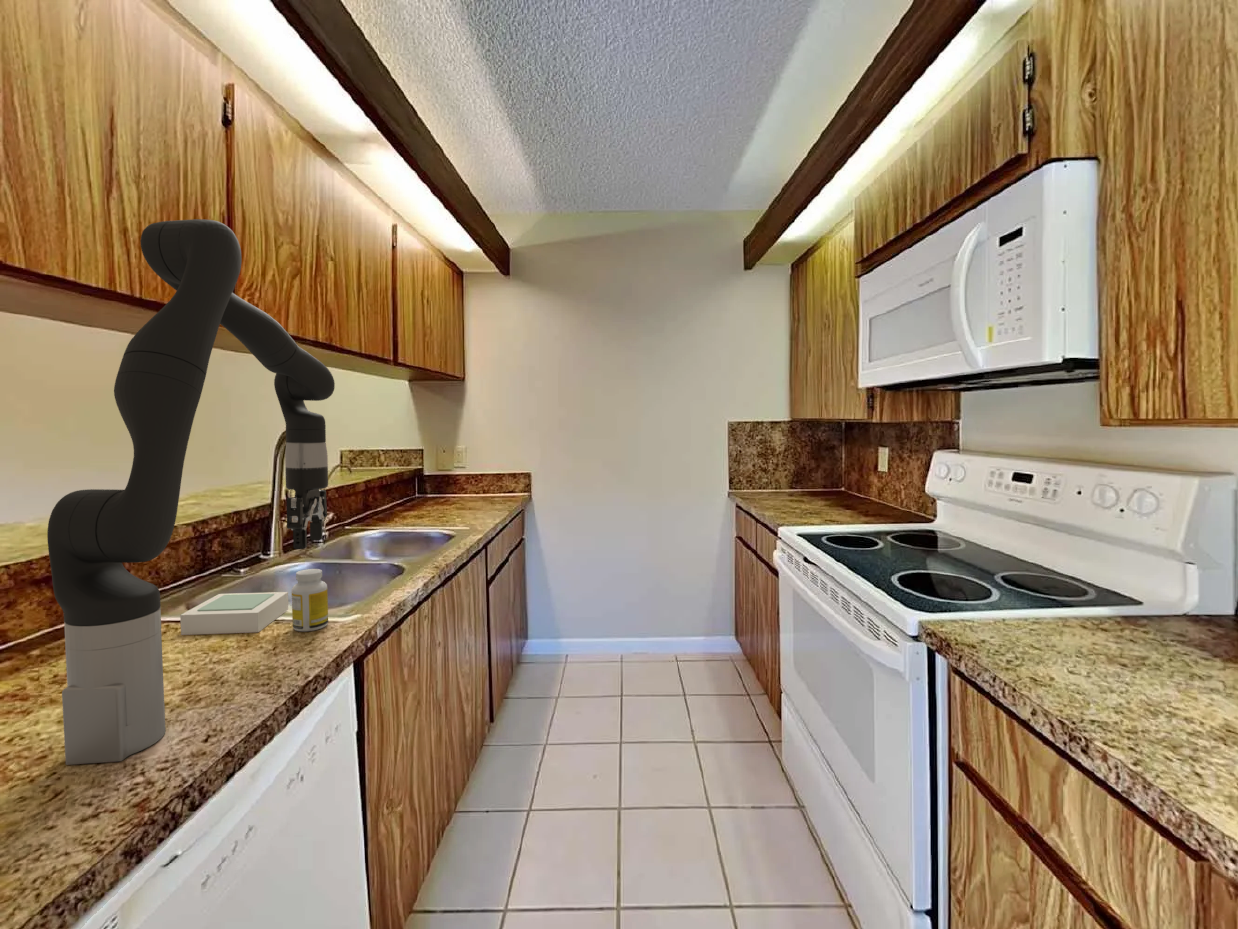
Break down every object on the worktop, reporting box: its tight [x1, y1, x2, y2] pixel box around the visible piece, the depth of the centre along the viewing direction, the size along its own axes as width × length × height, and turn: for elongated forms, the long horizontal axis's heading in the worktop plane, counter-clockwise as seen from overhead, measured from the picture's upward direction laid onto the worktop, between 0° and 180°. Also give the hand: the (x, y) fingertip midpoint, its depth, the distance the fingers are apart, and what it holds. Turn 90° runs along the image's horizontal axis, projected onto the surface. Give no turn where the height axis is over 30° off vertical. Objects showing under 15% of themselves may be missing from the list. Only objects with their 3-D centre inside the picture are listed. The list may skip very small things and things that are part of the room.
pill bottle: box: [291, 568, 329, 632], centre depth 116 cm, size 6×6×12 cm
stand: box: [179, 591, 289, 636], centre depth 118 cm, size 14×14×4 cm
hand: (308, 544), depth 115 cm, fingers open, 8 cm apart
